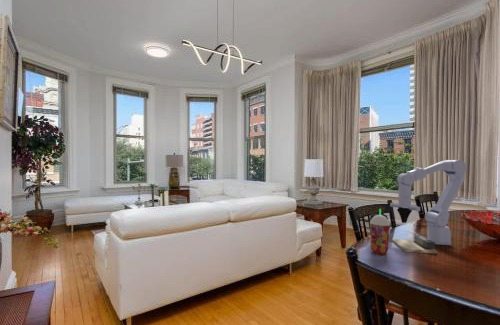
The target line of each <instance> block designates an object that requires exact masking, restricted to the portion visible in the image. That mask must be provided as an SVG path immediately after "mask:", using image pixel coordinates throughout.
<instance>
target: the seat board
mask: <svg viewBox="0 0 500 325" xmlns="http://www.w3.org/2000/svg"><path fill="white" fill-rule="evenodd" d="M391 243H393V244H394V243H395V246H397V247H398V249H400V250H401V251H403V252H407V253H409V252H410V253H419V254H420V253H421V254H434V255H435V254H438V251H437V250H436V248H435V249H427V248H425V247H423V246H422V245H420V244H418V243H417V242H415V241H414V239H399V238H391Z"/></svg>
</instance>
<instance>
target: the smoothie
mask: <svg viewBox="0 0 500 325" xmlns="http://www.w3.org/2000/svg"><path fill="white" fill-rule="evenodd" d="M378 214H379V215H376V216H374V217H373V218H372V219H371V221H369V235H370V249H371V252H372V253H373V254H375V255H378V256H385V255H387V253H388V251H389V242H390V230H391V223H390V221H389V218H388V217H387V218H388V219H387V218H386V217H385V216H383V215H381V214H382V208H379V213H378Z"/></svg>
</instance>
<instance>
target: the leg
mask: <svg viewBox="0 0 500 325" xmlns="http://www.w3.org/2000/svg"><path fill="white" fill-rule="evenodd" d="M413 236H414V237H413V238H414V239H413V240H414V241H415V242H417V243H418V244H420V245H422V246H423V247H425V248H427V249H435V250H436V244H435V242H433V241H431V240H429V239H427V238H426V237H425V236H422V235H421V234H419V233H415V234H414V235H413Z"/></svg>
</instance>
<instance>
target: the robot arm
mask: <svg viewBox="0 0 500 325" xmlns="http://www.w3.org/2000/svg"><path fill="white" fill-rule="evenodd" d="M467 169H468V166H467V164H466V163H465V161H464V160H462V159H445V160H441V161H438V162H436V163H434V164H432V165H429V166H426V167H425V168H422V167H417V166H416V167H414V169H412V170H410V171H409V170H407V171H405V172H406V173H404V172H403V173H400V174H398V176H397V177H396V182H397V184H398V199H397V200H398V201H397V203H396V202H390V203H389V204H390V205H389V207H390V208H397V209H396V210H397V213H398V214H399V217H400V220H401V223H402V224H406V223H407V222H408V219H409V216H410V215H411V213H412V212H413V211H416V212H421V206H415V205H412V185H413V184H414V183H415V182H417V181H420V180H422V179H425V178H426V177H427V175H429V174H433V173H436V172H438V171H439V172H440V171H443V172H444V173H445V174H446V175H447V177H448V178H449V180H448V183H447V184H446V186H445V187H444V189H443V191H442V193H441V195H440V196H439V199H437V200H438V201H437V202H436V204H435V205H434V206H432V207H431V208H429V209H428V211H427V212H426V213H425V214H424V219H425V221H426V224H427V229H426V230H427V234H426V235H427V236H426V237H427V239H429V240H431V241H433V242H435V245H441V246H442V245H443V246H452V242H451V239H452V238H451V236H452V235H451V234H452V233H451V228H450V227H449V226H448V225H447V224H448V223H449V217H450V212H449V210H450V207H451V206H452V203H453V201H454V200H455V198H456V196H457V194H458V192H459V190H460V189H461V187H462V186H463V184H464V182H465V178H466V177H465V176H466V175H465V174H466V171H467Z"/></svg>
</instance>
